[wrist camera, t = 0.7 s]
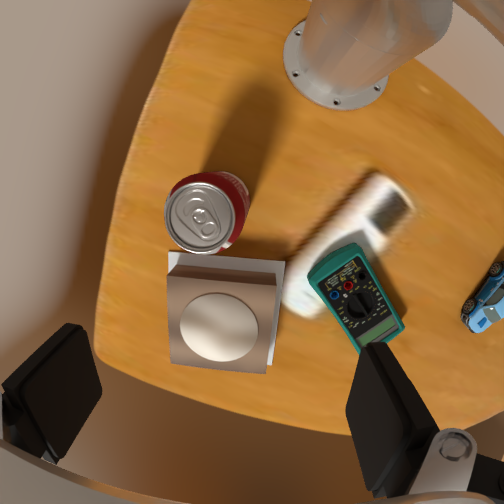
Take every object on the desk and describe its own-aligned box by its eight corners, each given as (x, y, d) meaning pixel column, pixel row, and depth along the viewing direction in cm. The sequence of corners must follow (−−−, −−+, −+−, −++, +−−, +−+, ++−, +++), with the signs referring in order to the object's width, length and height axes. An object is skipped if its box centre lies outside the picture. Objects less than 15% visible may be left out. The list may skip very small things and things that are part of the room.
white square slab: (168, 251, 36) (168, 251, 36) (285, 261, 36) (285, 261, 36) (172, 353, 40) (171, 354, 40) (271, 364, 40) (271, 365, 40)
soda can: (227, 159, 33) (209, 155, 21) (261, 208, 34) (261, 229, 23) (180, 193, 34) (140, 208, 23) (213, 240, 35) (190, 276, 24)
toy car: (454, 313, 37) (473, 330, 32) (498, 253, 34) (521, 264, 29) (468, 330, 38) (486, 348, 33) (511, 274, 35) (532, 286, 30)
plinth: (176, 264, 36) (166, 276, 32) (275, 273, 36) (276, 286, 32) (178, 346, 39) (170, 364, 35) (265, 356, 39) (265, 375, 35)
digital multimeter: (351, 236, 35) (358, 242, 32) (400, 321, 38) (408, 331, 35) (302, 270, 37) (305, 279, 34) (357, 350, 40) (362, 361, 37)
